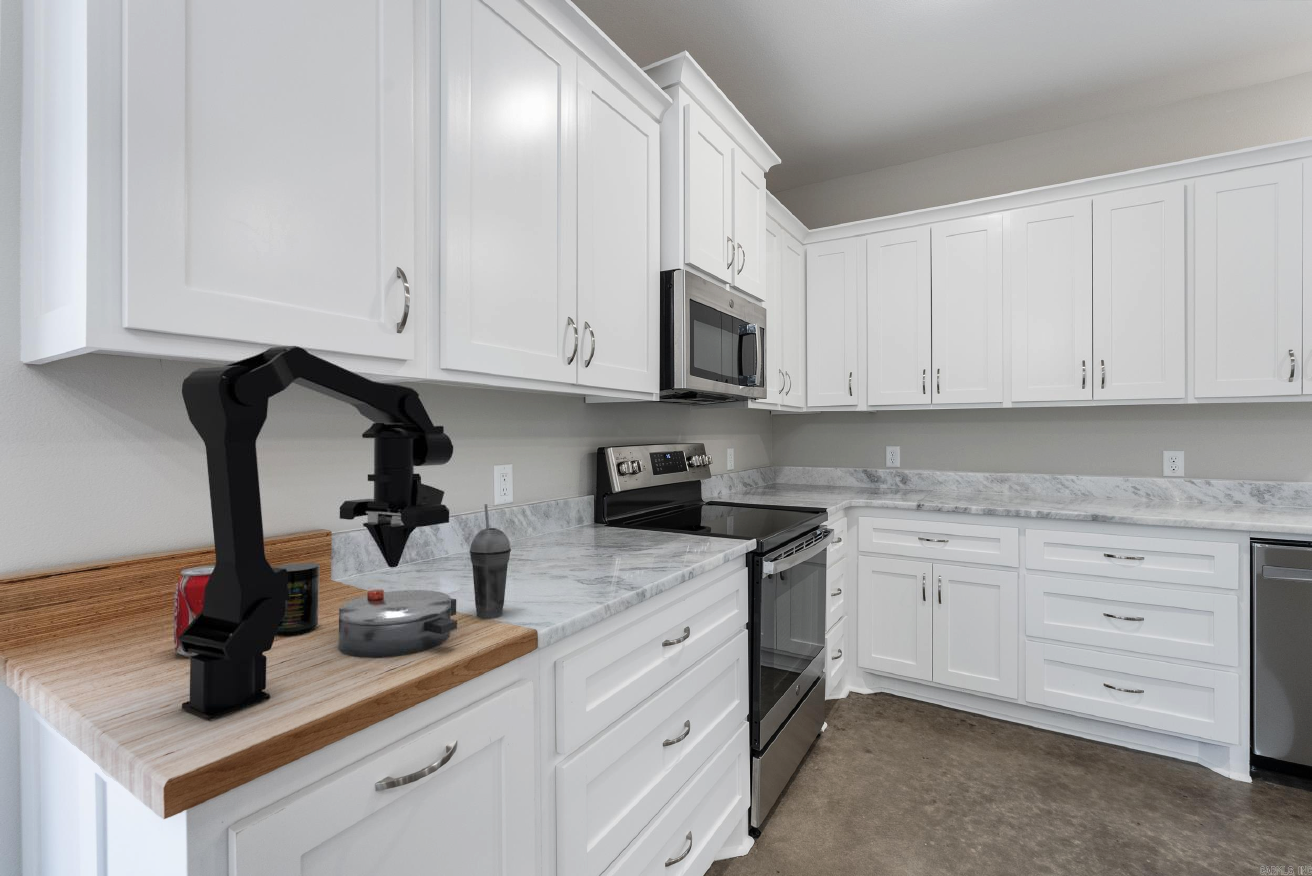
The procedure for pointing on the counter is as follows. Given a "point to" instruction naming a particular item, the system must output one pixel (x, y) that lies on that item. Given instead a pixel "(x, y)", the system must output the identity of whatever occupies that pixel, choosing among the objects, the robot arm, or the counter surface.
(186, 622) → the soda can
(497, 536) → the beverage cup
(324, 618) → the counter surface
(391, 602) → the pressure cooker lid
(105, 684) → the counter surface
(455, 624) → the pressure cooker pot
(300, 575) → the supplement container
